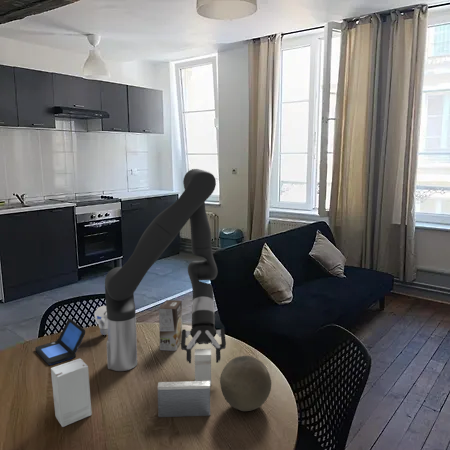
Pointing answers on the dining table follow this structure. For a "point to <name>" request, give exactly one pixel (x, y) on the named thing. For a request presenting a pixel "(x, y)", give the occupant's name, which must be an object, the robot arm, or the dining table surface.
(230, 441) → the dining table surface
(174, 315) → the coffee box
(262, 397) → the cantaloupe
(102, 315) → the light bulb
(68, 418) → the skincare box
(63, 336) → the handheld game console
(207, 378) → the block
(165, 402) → the grey flat box
